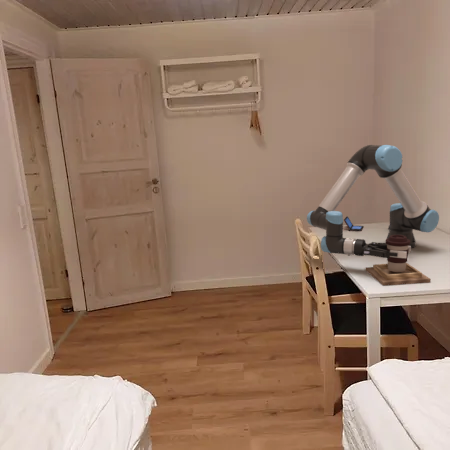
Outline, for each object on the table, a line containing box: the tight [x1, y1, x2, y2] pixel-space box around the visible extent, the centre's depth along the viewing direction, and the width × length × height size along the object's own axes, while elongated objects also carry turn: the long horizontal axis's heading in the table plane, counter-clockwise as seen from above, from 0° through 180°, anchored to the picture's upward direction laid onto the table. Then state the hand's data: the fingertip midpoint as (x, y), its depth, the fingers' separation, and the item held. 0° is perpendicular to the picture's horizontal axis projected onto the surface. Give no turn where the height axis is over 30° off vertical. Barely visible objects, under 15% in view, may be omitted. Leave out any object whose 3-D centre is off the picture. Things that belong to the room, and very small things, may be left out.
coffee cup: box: [384, 235, 410, 272], centre depth 189 cm, size 10×10×15 cm
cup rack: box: [365, 262, 432, 287], centre depth 191 cm, size 20×20×4 cm
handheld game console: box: [343, 215, 365, 232], centre depth 278 cm, size 12×11×7 cm
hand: (408, 252), depth 186 cm, fingers closed on coffee cup, 9 cm apart
